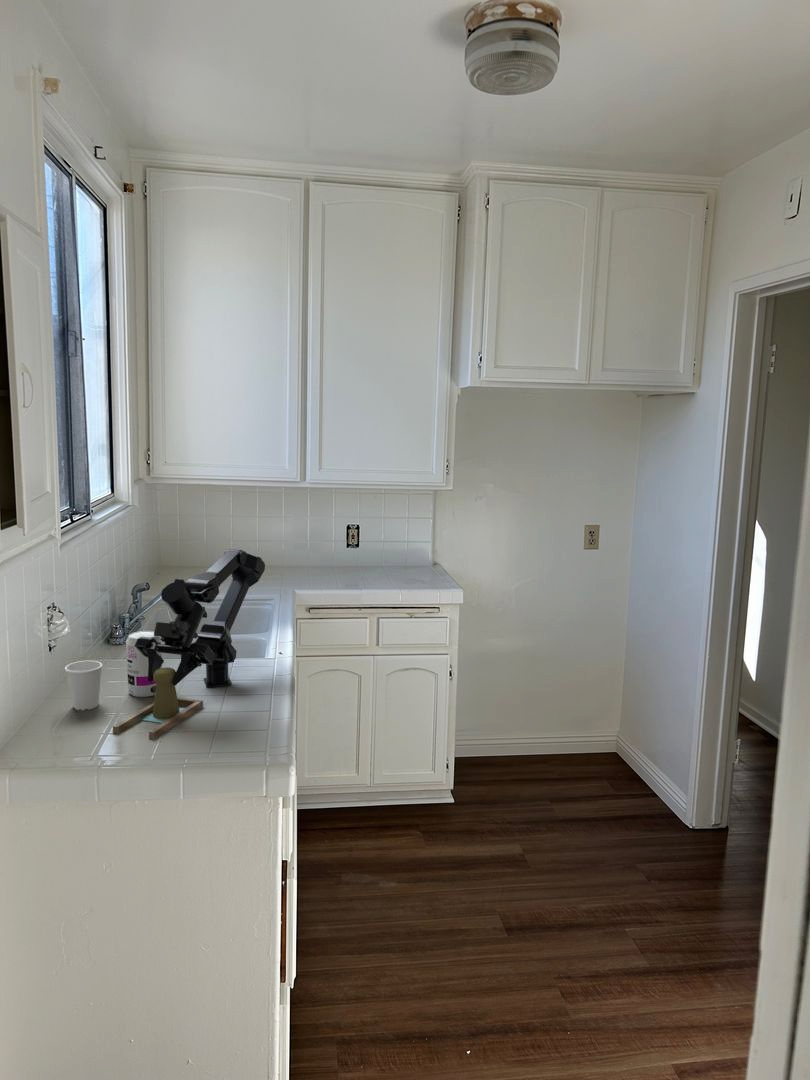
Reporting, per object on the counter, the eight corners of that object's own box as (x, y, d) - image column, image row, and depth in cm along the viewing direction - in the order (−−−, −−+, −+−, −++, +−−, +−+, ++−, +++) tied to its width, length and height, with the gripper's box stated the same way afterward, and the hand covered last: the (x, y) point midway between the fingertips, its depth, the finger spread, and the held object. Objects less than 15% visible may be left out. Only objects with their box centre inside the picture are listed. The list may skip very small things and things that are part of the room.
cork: (169, 706, 191) (168, 662, 189) (185, 713, 188) (183, 668, 186) (147, 714, 187) (145, 669, 185) (162, 721, 183) (161, 675, 181)
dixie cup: (90, 697, 198) (88, 658, 196) (111, 704, 194) (109, 664, 192) (59, 707, 191) (57, 667, 190) (81, 714, 187) (78, 673, 185)
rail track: (165, 701, 196) (165, 695, 196) (203, 706, 193) (202, 700, 193) (113, 732, 177) (112, 726, 177) (153, 738, 174) (153, 732, 174)
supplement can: (168, 688, 205) (166, 631, 202) (150, 699, 197) (148, 640, 194) (141, 685, 207) (138, 628, 204) (121, 695, 199) (119, 637, 197)
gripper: (137, 603, 189) (109, 662, 181) (207, 610, 184) (182, 671, 175) (158, 627, 198) (132, 684, 190) (225, 634, 193) (202, 693, 184)
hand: (161, 683), depth 184 cm, fingers open, 6 cm apart
